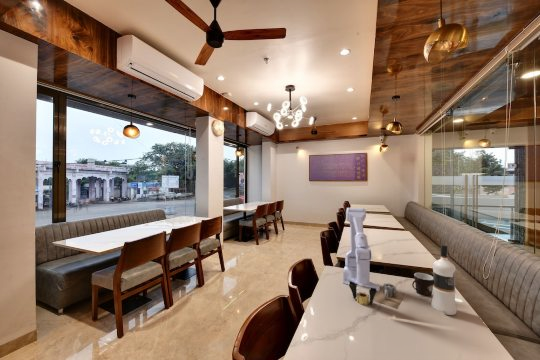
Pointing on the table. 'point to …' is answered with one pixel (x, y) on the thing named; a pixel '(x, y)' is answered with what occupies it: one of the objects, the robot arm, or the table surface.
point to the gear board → (388, 298)
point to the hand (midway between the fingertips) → (362, 300)
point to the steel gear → (389, 290)
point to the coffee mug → (423, 284)
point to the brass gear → (363, 298)
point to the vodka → (444, 284)
